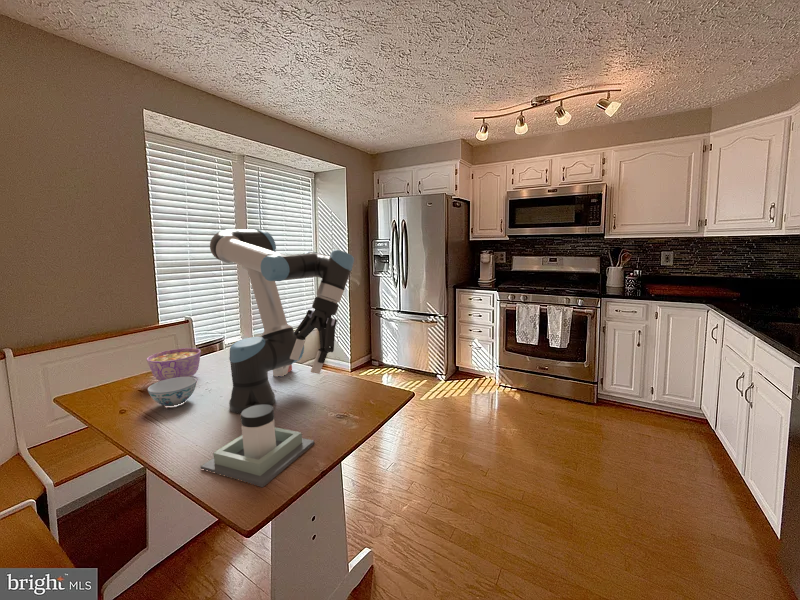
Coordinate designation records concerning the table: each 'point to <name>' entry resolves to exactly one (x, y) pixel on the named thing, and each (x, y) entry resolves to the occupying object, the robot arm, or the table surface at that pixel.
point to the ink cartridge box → (282, 370)
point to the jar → (258, 430)
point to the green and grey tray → (264, 469)
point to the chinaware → (172, 390)
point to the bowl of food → (174, 363)
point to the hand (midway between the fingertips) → (303, 366)
